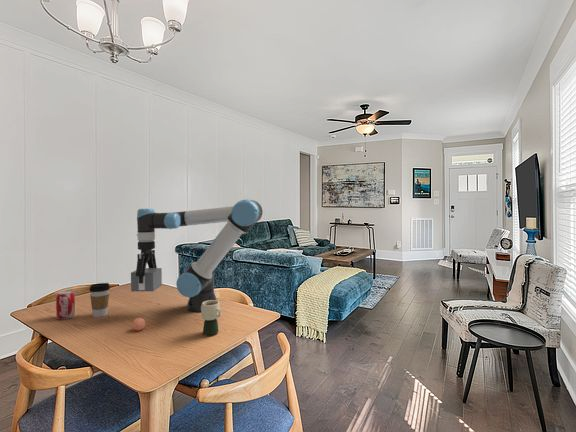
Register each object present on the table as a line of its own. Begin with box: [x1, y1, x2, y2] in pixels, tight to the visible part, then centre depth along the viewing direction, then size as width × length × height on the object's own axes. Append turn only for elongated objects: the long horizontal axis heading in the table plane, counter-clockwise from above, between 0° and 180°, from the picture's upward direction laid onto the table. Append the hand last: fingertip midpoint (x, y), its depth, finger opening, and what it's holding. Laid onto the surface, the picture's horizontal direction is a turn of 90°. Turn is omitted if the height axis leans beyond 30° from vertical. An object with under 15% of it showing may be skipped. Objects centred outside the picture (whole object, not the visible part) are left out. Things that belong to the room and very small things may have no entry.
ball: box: [131, 317, 146, 331], centre depth 132 cm, size 5×5×5 cm
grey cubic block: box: [130, 267, 163, 292], centre depth 149 cm, size 10×10×9 cm
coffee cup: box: [88, 282, 111, 318], centre depth 148 cm, size 8×8×15 cm
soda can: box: [55, 290, 76, 321], centre depth 145 cm, size 7×7×12 cm
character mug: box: [201, 300, 222, 336], centre depth 129 cm, size 11×7×13 cm, turn 59°
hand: (147, 286), depth 149 cm, fingers closed on grey cubic block, 10 cm apart
